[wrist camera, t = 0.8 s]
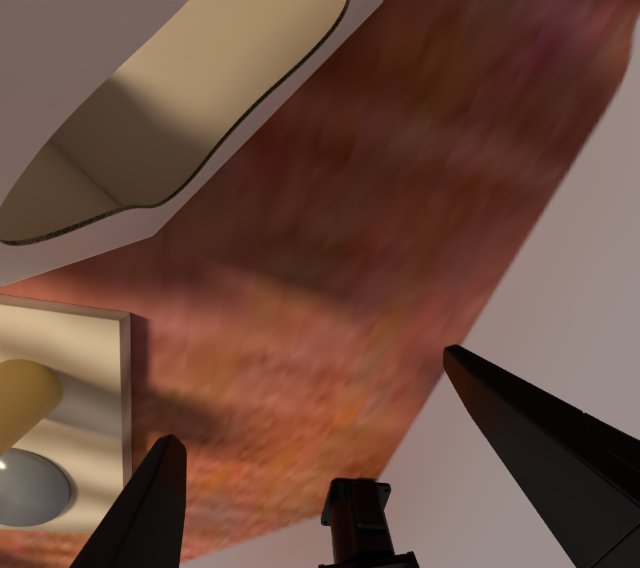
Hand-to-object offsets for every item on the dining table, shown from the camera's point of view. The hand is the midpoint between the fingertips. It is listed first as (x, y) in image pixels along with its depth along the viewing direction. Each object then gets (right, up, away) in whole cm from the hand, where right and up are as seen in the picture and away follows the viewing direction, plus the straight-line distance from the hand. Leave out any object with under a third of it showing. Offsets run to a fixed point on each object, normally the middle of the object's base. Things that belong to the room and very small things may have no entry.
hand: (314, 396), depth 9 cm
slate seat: (-27, -15, +17) cm, 35 cm away
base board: (-24, -9, +16) cm, 30 cm away
